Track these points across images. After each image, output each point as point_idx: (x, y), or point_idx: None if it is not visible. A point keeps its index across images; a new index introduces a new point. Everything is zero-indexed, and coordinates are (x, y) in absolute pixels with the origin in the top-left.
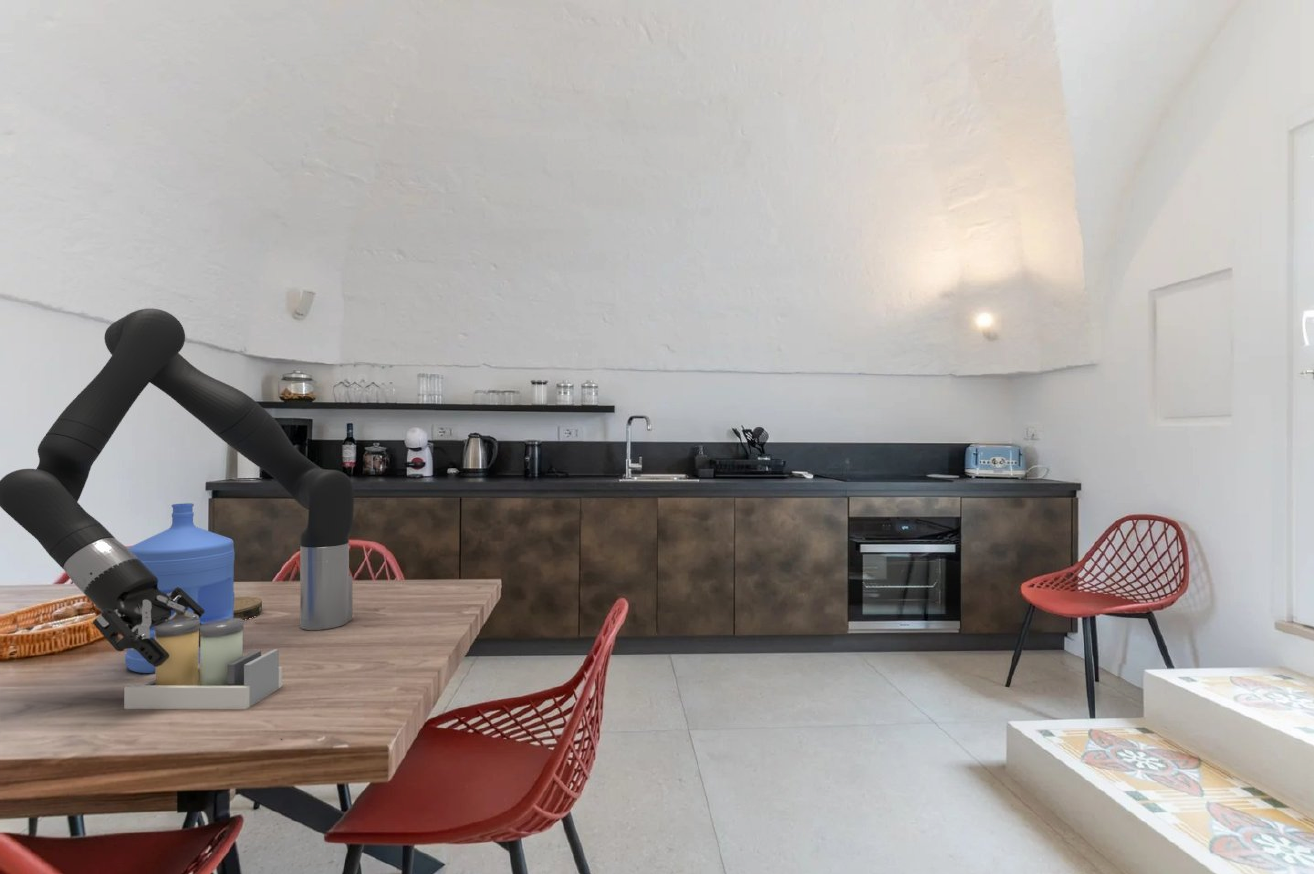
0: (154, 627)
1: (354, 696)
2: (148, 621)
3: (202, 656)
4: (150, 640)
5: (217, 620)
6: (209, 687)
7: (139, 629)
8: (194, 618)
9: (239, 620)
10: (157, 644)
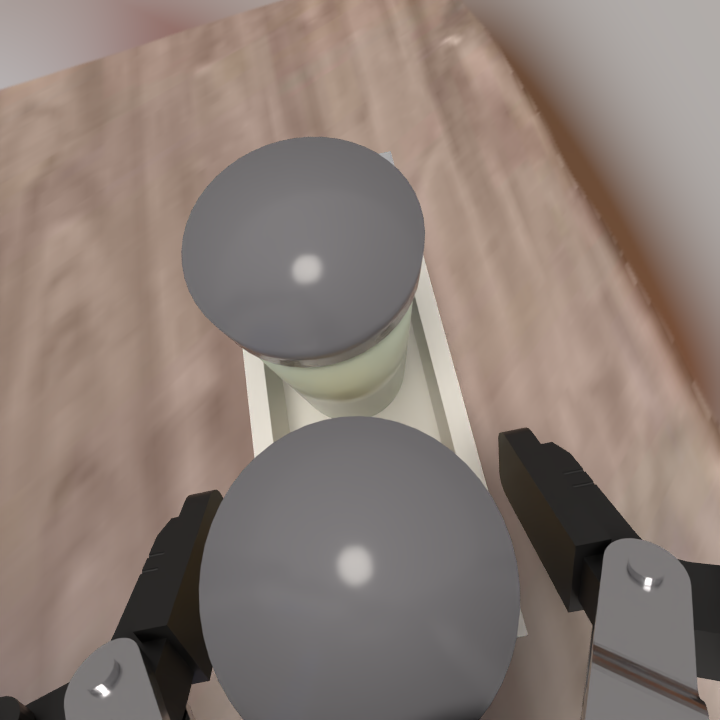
0: (493, 690)
1: (257, 112)
2: (627, 687)
3: (408, 331)
4: (599, 524)
5: (244, 320)
6: (434, 302)
7: (692, 660)
8: (212, 556)
9: (227, 190)
10: (552, 491)
